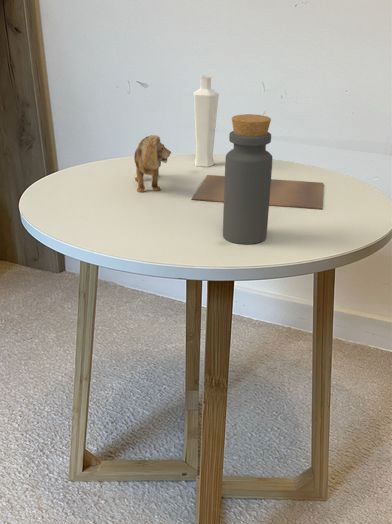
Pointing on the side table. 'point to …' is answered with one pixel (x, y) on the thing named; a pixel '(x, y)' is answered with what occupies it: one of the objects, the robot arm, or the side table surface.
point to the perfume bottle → (205, 121)
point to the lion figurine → (150, 160)
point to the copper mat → (280, 192)
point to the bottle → (247, 180)
